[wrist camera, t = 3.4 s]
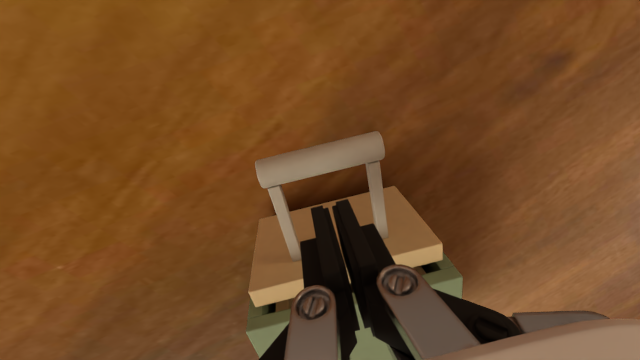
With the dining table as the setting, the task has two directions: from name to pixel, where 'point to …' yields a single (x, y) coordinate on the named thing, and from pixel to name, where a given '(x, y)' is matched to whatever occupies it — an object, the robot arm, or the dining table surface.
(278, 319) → the cabinet
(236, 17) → the dining table surface
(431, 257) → the drawer
